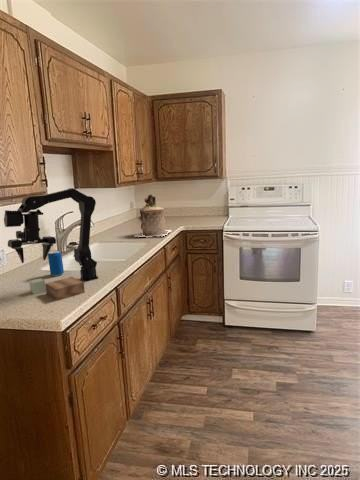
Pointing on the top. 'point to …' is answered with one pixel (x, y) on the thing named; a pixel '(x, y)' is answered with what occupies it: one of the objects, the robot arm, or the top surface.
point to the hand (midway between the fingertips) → (33, 261)
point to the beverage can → (55, 263)
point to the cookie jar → (152, 219)
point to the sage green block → (37, 286)
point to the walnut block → (64, 288)
